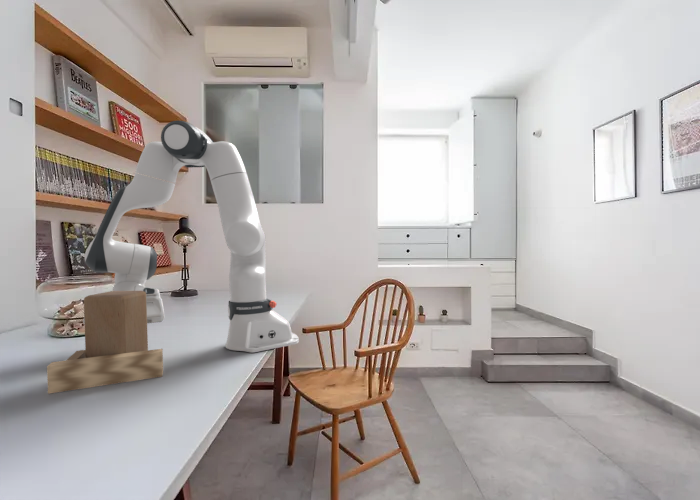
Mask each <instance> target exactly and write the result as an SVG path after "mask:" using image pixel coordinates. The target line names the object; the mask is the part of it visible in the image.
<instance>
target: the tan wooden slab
mask: <svg viewBox="0 0 700 500" xmlns="http://www.w3.org/2000/svg"><path fill="white" fill-rule="evenodd" d="M163 351H164V350H163V348H158V349H148V350H147V351H139V352H131V353H123V354H115V355H107V356H99V357H90V358H86V349H82V350H81V349H80V350H76V351H75V352H74V353H73V354H72V355H70V356H69V357H68V358H67V359H66V360H60V361H51V362H50V363H49V364H48V365H47V366H46V377H47V394H49V395H50V394H56V393H61V392H67V391H74V390H75V391H76V390H83V389H89V388H94V387H95V388H96V387H102V386H109V385H116V384H122V383H129V382H135V381H136V382H137V381H141V380H147V379H155V378H162V377H163V376H164V375H163V374H164V356H163V355H164V354H163Z"/></svg>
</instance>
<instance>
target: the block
mask: <svg viewBox="0 0 700 500" xmlns="http://www.w3.org/2000/svg"><path fill="white" fill-rule="evenodd" d="M83 320H84V322H85V325H84V342H85V343H84V345H85V347H84V350H86V358H90V357H99V356H107V355H115V354H123V353H131V352H139V351H147V350H149V344H148V343H149V340H148V336H149V335H148V323H147V304H146V292H144V291H113V290H110V291H105V292H100V293H96V294H95V293H94V294H90V295H86V296H85V297H84V298H83ZM84 322H83V323H84Z"/></svg>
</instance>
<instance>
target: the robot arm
mask: <svg viewBox="0 0 700 500" xmlns="http://www.w3.org/2000/svg"><path fill="white" fill-rule="evenodd" d="M160 140H161V141H151V142H148V143H147V144H146V145H145V146H144V148H143V150H142V152H141V154H140V157H139V159H138V162H137V165H136V168H135V173H134V176H133V178H132V180H131V181H130V183H129V184H128V185H126V186H123V187H120V188H119V189H117V191H116V192H115V194H114V196H113V198H112V200H111V202H110V204H109V205H108V208H107V209H106V212H105V214H104V216H103V218H102V220H101V223H100V225H99V226H98V229H97V232H96V234H95V236H94V237H93V239H92V241H91V242H90V244H89V245H88V246H87V248H86V251H85V254H84V264H85V265H86V266H87V267H88V268H89V269H90V270H91V271H93V272H94V273H111V274H112V273H113V274H114V284H113V287H112V291H144V292H146V304H147V324H157V323H158V324H159V323H163V322H164V320H165V309H164V308H165V307H164V304H163V303H164V302H163V299H162V297H161V293H160V290H159V289H158V288H154V287H148V286H146V285H145V284H146V282H147V281H148V280H150V279H151V278H152V277H153V276H154V275H155V274H156V272H157V265H158V254H157V252H156V250H155V248H153V247H152V246H149V245H145V244H138V243H131V242H124V241H118V240H115V239H114V238H113V236H114V234H115V231H116V230H117V227H118V225H119V223H120V221H121V219H122V217H123V216H124V214H125V213H128V212H130V211H132V210H138V209H148V208H154V207H159V206H161V205H164V204H166V203H167V202H169V200H171V198H172V196H173V193H174V190H175V187H176V184H177V183H176V182H177V177H178V174H179V171H180V170H181V169H182V168H183V167H185V168H188V169H189V168H190V169H191V168H205V169H206V170H207V173H208V177H209V180H210V183H211V187H212V190H213V194H214V197H215V200H216V204H217V207H218V213H219V218H220V222H221V226H222V232H223V235H224V239H225V243H226V247H228V249H229V251H230V262H229V263H230V264H229V275H228V276H229V277H228V278H229V280H228V281H229V300H228V304H227V311H228V312H227V316H228V319H229V324H228V326H229V327H228V334H227V338H226V343H225V349H227V350H230V351H238V352H239V351H240V352H246V353H257V352H262V351H269V350H272V349H278V348H283V347H289V346H294V345H297V344H299V342H300V340H299V338H300V337H299V336H298V335H297V334H296V333H295V332H292V328H291V325H290V322H289V321H288V320H287V319H286V318H285V317H284V316H282V315H281V314H279V313H278V312H276V311H275V310H274V308H276V307H277V302H276V301H275V300H272V299H269V298H267V270H266V269H267V260H266V259H267V257H266V255H267V254H266V252H267V250H266V246H267V245H266V244H267V243H266V234H265V230H264V229H263V228H262V227H263V226H262V224H261V220H260V215H259V213H258V209H257V205H256V201H255V197H254V194H253V193H254V192H253V190H252V185H251V183H250V180H249V176H248V173H247V170H246V166H245V164H244V161H243V159H242V157H241V155H240V153H239V150H238V149H237V147H236V145H235V144H233V143H232V142H229V141H226V140H225V141H223V140H221V141H214V140H213V139H212V138H211V137H210V136H209V135H207V134H206V133H205V131H203V130H202V129H200V128H199V127H197V126H195V125H194V124H192V123H190V122H187V121H184V120H172V121H170V122H168V123H167V124H165V125H164V126H163V128H162V131H161V134H160ZM82 321H83V325H84V326H85V322H84V319H83V320H82Z"/></svg>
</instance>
